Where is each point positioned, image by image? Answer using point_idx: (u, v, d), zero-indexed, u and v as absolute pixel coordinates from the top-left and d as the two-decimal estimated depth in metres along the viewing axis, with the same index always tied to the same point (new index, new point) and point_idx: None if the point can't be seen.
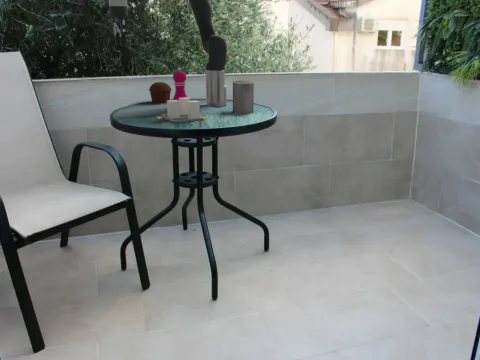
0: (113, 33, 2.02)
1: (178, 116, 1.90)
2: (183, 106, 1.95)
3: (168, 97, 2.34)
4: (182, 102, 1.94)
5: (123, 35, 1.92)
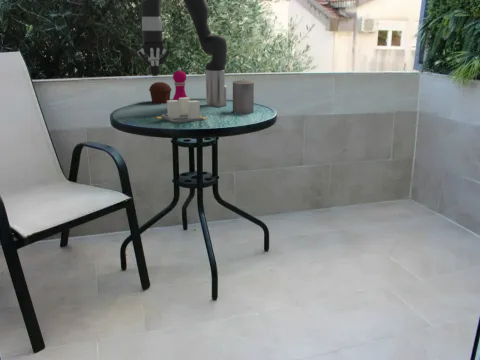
0: (148, 63, 1.78)
1: (178, 116, 1.90)
2: (183, 106, 1.95)
3: (168, 97, 2.34)
4: (182, 102, 1.94)
5: None
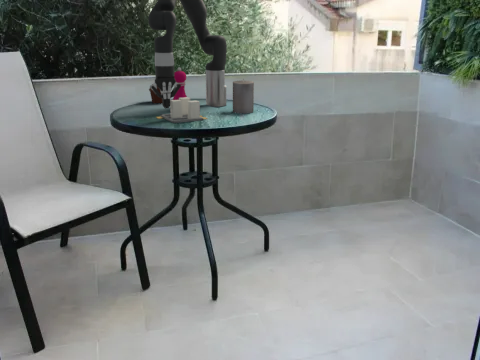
0: (161, 96, 1.84)
1: (181, 116, 1.91)
2: (183, 106, 1.95)
3: None
4: (182, 102, 1.94)
5: None
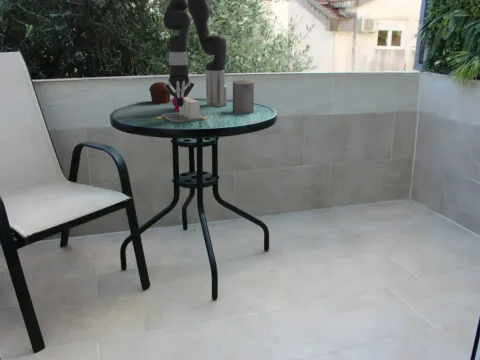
0: (174, 95, 1.87)
1: None
2: None
3: (168, 97, 2.34)
4: None
5: None
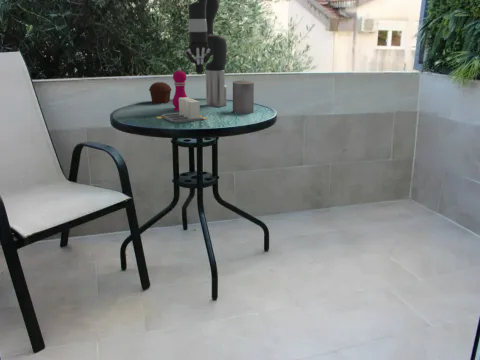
0: (194, 62, 1.92)
1: None
2: None
3: (168, 97, 2.34)
4: (182, 102, 1.94)
5: None
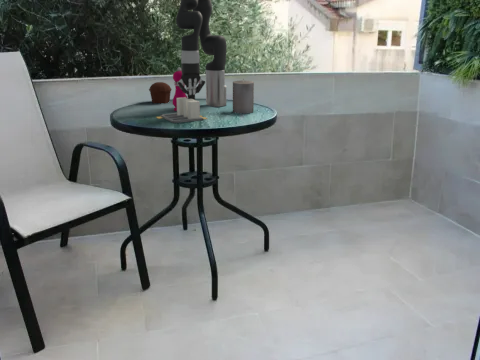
0: (187, 92, 1.94)
1: None
2: (181, 106, 1.94)
3: (168, 97, 2.34)
4: (180, 102, 1.94)
5: None
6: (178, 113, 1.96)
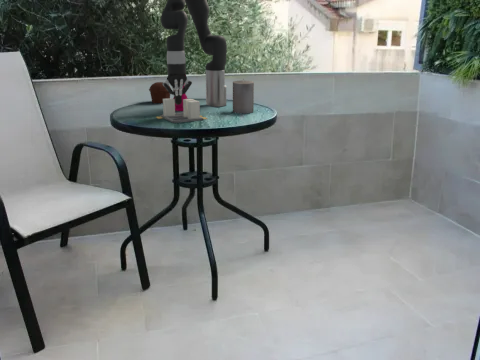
0: (173, 93, 1.91)
1: None
2: (167, 107, 1.92)
3: (168, 97, 2.34)
4: (166, 103, 1.91)
5: None
6: (164, 114, 1.94)
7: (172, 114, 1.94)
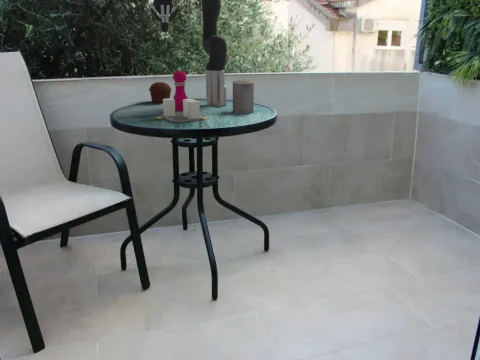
0: (159, 19, 1.89)
1: None
2: (167, 107, 1.92)
3: (168, 97, 2.34)
4: (166, 103, 1.91)
5: (169, 21, 1.92)
6: (164, 114, 1.94)
7: (172, 114, 1.94)
